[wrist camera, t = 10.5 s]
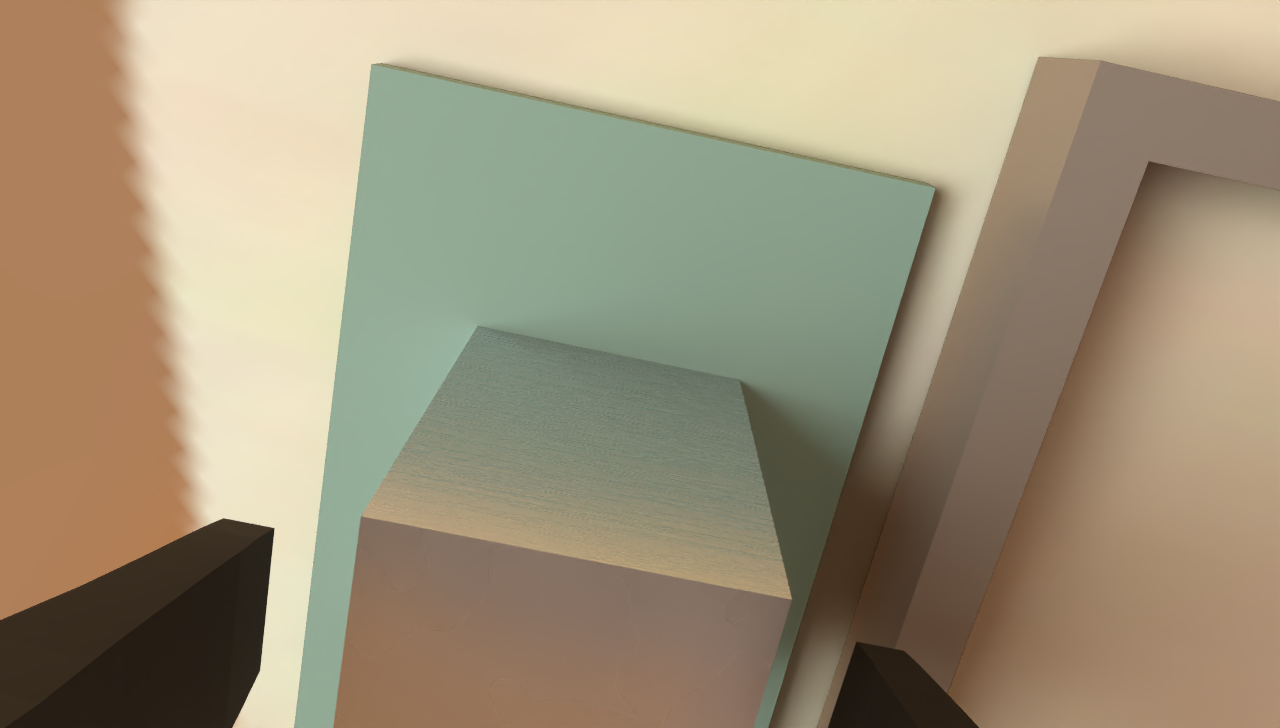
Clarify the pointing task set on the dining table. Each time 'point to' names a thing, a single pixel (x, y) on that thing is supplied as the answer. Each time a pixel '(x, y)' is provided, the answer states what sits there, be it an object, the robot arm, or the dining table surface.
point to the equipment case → (1031, 330)
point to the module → (566, 552)
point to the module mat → (604, 296)
